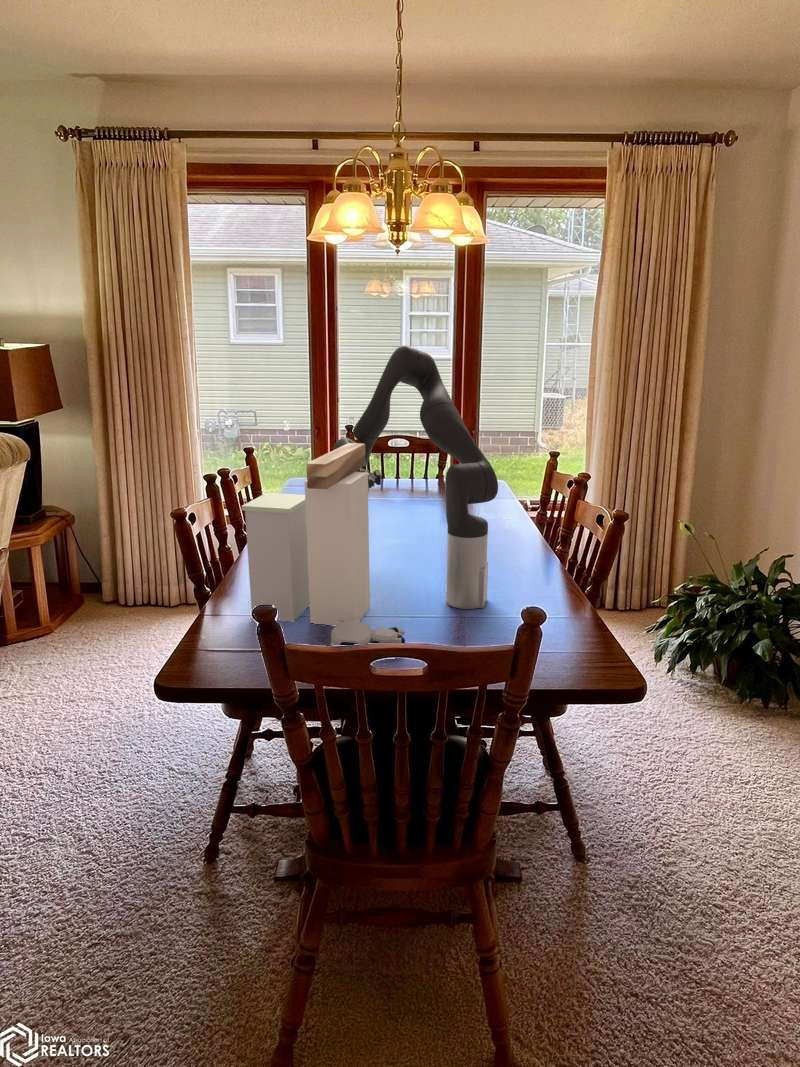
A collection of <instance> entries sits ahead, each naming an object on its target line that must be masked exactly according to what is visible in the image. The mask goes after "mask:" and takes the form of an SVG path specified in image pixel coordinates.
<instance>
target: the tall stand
mask: <svg viewBox="0 0 800 1067" xmlns="http://www.w3.org/2000/svg"><path fill="white" fill-rule="evenodd" d="M304 492H305V493H304V495H305V503H306V527H307V551H308V576H309V600H310V606H309V615H310V616H309V622H310V623H315V624H325V625H326V624H328V625H338V624H339V623H341V622H339V621H338V620H337V619H341V620H343V621H353V622H358V621H359V620H360V619H361V618H362V619H363V618H364V617H365V615H366V614H367V612H369V610H370V609H371V601H370V598H371V597H370V595H371V594H370V592H371V591H370V582H371V581H370V539H369V538H370V536H369V535H370V532H369V530H370V529H369V528H370V527H369V523H370V522H369V488H368V472H354V473H352V474H350V475H349V476H347V477H346V478H344V479H342V480H341V481H339V482H338V483H336V484H334V485H333V486H331V487H329V488H328V489H311V488H307V479H306V480H305V481H304ZM369 608H370V609H369ZM368 609H369V610H368ZM365 613H366V614H365ZM364 614H365V615H364ZM362 619H361V620H362ZM361 620H360V621H361ZM360 621H359V622H360ZM315 624H314V625H315ZM325 625H324V626H325Z"/></svg>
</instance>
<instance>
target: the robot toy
mask: <svg viewBox="0 0 800 1067" xmlns="http://www.w3.org/2000/svg"><path fill="white" fill-rule="evenodd" d="M337 620H338V621H339V622H341V623H339V624H338V625H336V626H335V627H334V626H333V629H331V631H330V643H329V645H330V646H331V645H354V644H368V643H406V639H405V637H404V636H403V635H404V634H406V631H405V630H404V629H403V628H398V627H396V626H395V627H393V626H392V627H388V628H385V627H384V628H382V627H381V628H380V627H379V628H375V629H374V630H372V628H371V627H370V625H368V624H367V623H366V622H363V621H362V622H361V621H359V622H353V621H343V620H341V619H337Z"/></svg>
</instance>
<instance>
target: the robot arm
mask: <svg viewBox="0 0 800 1067" xmlns="http://www.w3.org/2000/svg"><path fill="white" fill-rule="evenodd" d="M399 383H402V384H406V385H409V386H411V387H414V389H416V390H417V391H418V393H419V394H420V395H421V398H422V400H423V401H422V403H421V406H420V410H419V420H420V422H421V425H422V427H423V429H424V432H425V433H426V435H427V437H428V439H429V440H430V441H431V442H432V443H433V445H435V446H436V447H438V449H440V450H442V451H443V452H445V453H446V454H448V455H449V456H451V457H453V458H454V459H455V460H457V461H458V462H459V463H456V464H452V465H450V466H449V467H448V468H447V471H446V474H445V484H444V485H445V486H444V487H445V488H444V489H445V490H444V491H445V517H446V523H447V524H446V525H447V547H446V548H447V552H446V553H447V554H446V592H445V594H446V600H445V601H446V604H447V605H449V606H451V607H453V608H456V609H459V610H460V609H461V610H474V609H484V608H485V605H486V603H487V600H488V577H489V562H488V539H489V538H488V536H489V534H488V533H489V522H488V521H487V519H485V518H483V517H481V516H477V515H473V514H470V513H469V510H468V508H469V507H468V505H475V504H482V503H488V502H491V501H493V500H494V499H495V498H496V497H497V495H498V493H499V483H498V478H497V474H496V472H495V470H494V468H493V466H492V465H491V463H490V461H489V460H488V459H487V457H486V456H485V454H484V453H483V451H482V450H481V449H480V447H479V446H478V444H477V443H476V441H475V440H474V438H473V437H472V435H471V433H470V431H469V430H468V427H467V426H466V424H465V421H464V420H463V418H462V416H461V414H460V413H459V410H458V409H457V407H456V405H455V403H454V401H453V400H452V398H451V396H450V395H449V392H448V391H447V389H446V387H445V385H444V383H443V380H442V378H441V375H440V372H439V369H438V367H437V363H436V361H435V359H434V358H433V357H432V356H431V355H430V354H429V353H427V352H425V351H423V350H420V349H417V348H414V347H412V346H409V345H400V346H398V347H397V348H396V349H395V350H394V351H393V352H392V354H391V356H390V357H389V359H388V361H387V364H386V365H385V368H384V370H383V373H382V374H381V376H380V379H379V382H378V384H377V385H376V388H375V389H374V390H375V391H374V393H373V396H372V397H371V400H370V401H369V403H368V405H367V407H366V408H365V410H364V411H363V414H362V415H361V416H360V417H359V419H358V421H357V422H356V424H355V426H354V427H353V429H352V434H353V436H354V438H355V439H356V440H357V441H358V442H359V443H361V444H365V462H366V465H365V466H363V467H362V468H360V469H359V470H357V471H355V472H368V489H372V488H373V487H375V485H377V486H381V485H382V477H383V476H382V473H381V470H380V469H374V471H373V472H370V471H369V470H368V469H367V467H368V466H367V465H369V464H368V463H369V461H370V457H371V454H372V450H373V448H374V446H375V443H376V442H377V440H378V438H380V435H381V434H382V433H383V431H384V430H385V428H386V427H387V424H388V423H389V419H390V416H391V415H390V414H391V397H392V393H393V391H394V390H395V388H396V386H397V385H398V384H399ZM348 443H357V442H355V441H354V440H352V439H351V438H348V437H342V438H340V439H338V440H337V441H336V443H335V444H334V446H333V448H332V451H333V450H335V449H337V448H339V447H341V446H343V445H346V444H348Z"/></svg>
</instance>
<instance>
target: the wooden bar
mask: <svg viewBox="0 0 800 1067" xmlns="http://www.w3.org/2000/svg"><path fill="white" fill-rule="evenodd" d="M365 465H366V462H365V444H361V443H360V442H359V443H358V442H356V443H348V444H346V445H343V446H341V447H339V448H337V449H335V450H333V449H332V451H330V452H327V453H324V454H323V455H321V456H319V457H317V458H315V459H312V460H310V461H308V462H306V466H305V467H306V480H307V488H311V489H328V488H329V487H331V486H333V485H334V484H336V483H338V482H339V481H341V480H342V479H344V478H346V477H347V476H349V475H350V474H352V473H354V472H355V471H357V470H359V469H360V468H362V467H363V466H365Z"/></svg>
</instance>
